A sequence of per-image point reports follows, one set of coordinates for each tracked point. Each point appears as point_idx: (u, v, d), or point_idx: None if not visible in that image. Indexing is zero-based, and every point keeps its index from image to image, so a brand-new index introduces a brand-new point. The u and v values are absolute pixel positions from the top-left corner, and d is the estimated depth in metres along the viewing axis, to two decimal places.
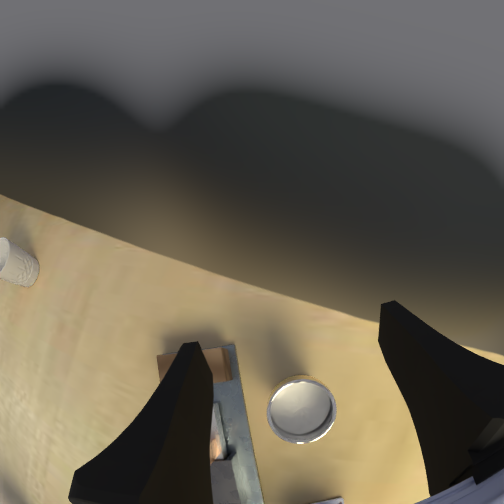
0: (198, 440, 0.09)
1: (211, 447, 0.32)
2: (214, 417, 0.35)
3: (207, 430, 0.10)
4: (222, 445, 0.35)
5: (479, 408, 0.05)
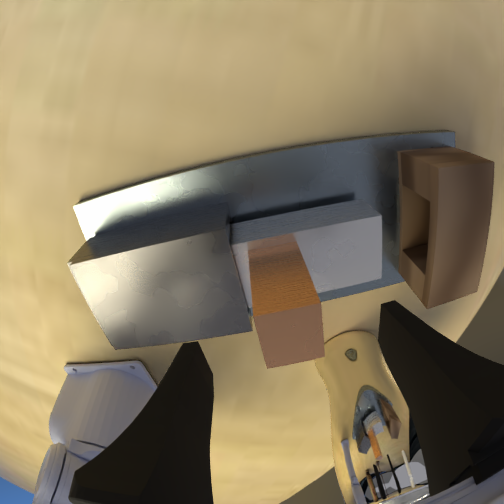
0: (198, 440, 0.09)
1: None
2: (354, 283, 0.17)
3: (207, 430, 0.10)
4: None
5: (479, 408, 0.05)
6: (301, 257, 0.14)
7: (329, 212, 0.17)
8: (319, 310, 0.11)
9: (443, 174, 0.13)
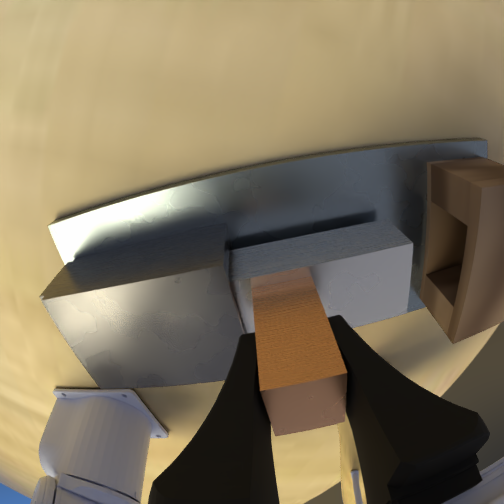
0: (266, 433, 0.08)
1: None
2: (375, 320, 0.14)
3: (269, 422, 0.10)
4: None
5: (391, 446, 0.05)
6: (319, 301, 0.11)
7: (350, 237, 0.14)
8: (344, 380, 0.08)
9: (486, 195, 0.10)
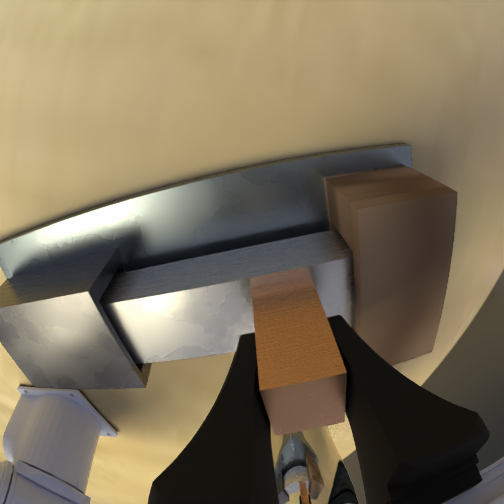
0: (266, 433, 0.08)
1: None
2: None
3: (268, 423, 0.10)
4: None
5: (391, 446, 0.05)
6: (318, 301, 0.11)
7: None
8: (344, 380, 0.08)
9: (367, 217, 0.10)
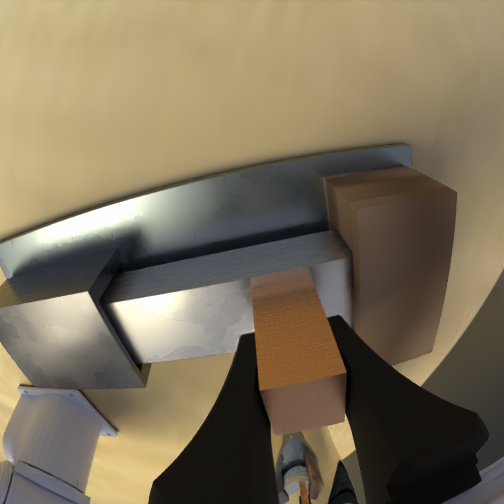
0: (266, 433, 0.08)
1: None
2: None
3: (269, 423, 0.10)
4: None
5: (390, 447, 0.05)
6: (318, 301, 0.11)
7: None
8: (344, 380, 0.08)
9: (366, 217, 0.10)
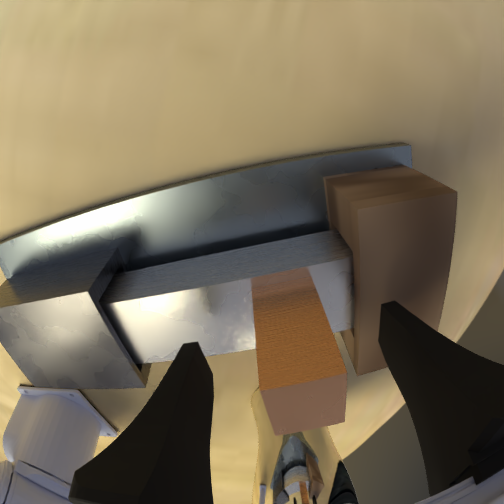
0: (198, 440, 0.09)
1: None
2: None
3: (207, 430, 0.10)
4: None
5: (479, 408, 0.05)
6: (319, 301, 0.11)
7: None
8: (344, 380, 0.08)
9: (367, 217, 0.10)
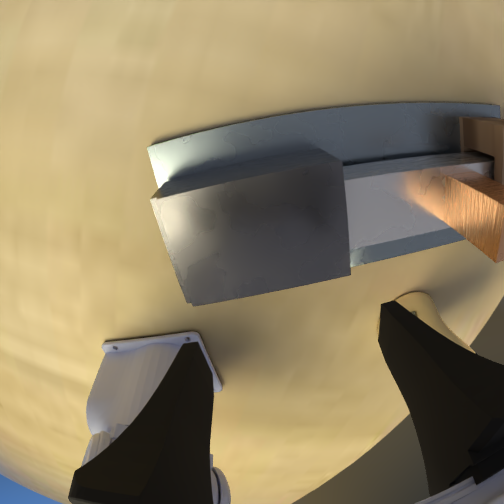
0: (198, 440, 0.09)
1: None
2: None
3: (207, 430, 0.10)
4: None
5: (479, 408, 0.05)
6: (490, 179, 0.13)
7: (481, 155, 0.16)
8: None
9: None
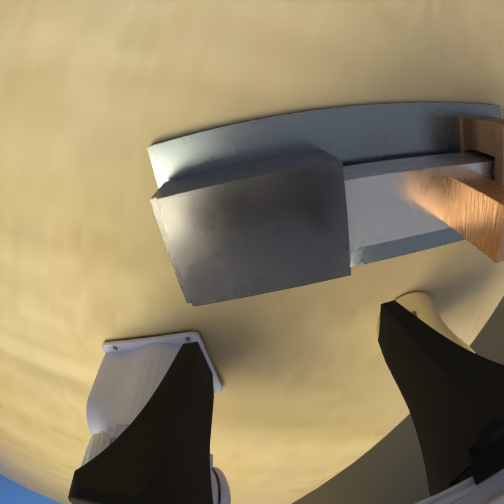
0: (198, 440, 0.09)
1: None
2: None
3: (207, 430, 0.10)
4: None
5: (479, 408, 0.05)
6: (490, 179, 0.13)
7: (481, 155, 0.16)
8: None
9: None
